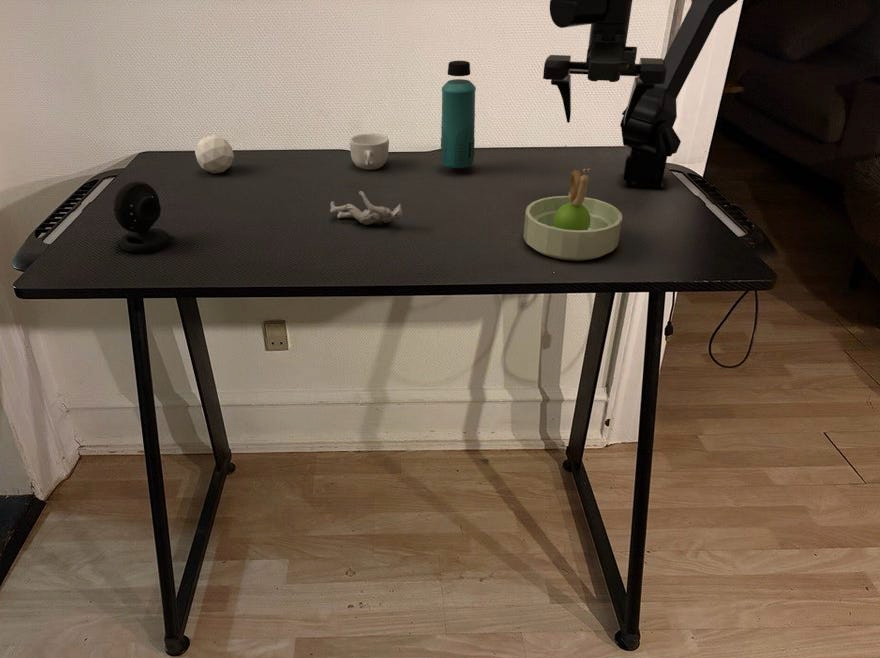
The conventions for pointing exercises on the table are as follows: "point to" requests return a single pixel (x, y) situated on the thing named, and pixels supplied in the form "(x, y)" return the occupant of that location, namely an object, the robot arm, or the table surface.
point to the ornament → (214, 154)
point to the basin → (572, 242)
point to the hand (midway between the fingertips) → (596, 123)
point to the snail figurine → (574, 204)
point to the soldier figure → (368, 212)
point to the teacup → (369, 150)
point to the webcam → (139, 217)
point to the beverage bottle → (458, 118)
